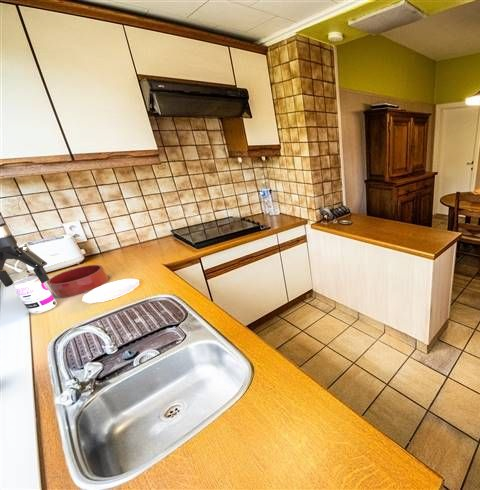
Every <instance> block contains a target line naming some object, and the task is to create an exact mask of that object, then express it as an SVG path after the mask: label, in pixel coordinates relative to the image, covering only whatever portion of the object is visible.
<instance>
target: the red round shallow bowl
mask: <svg viewBox="0 0 480 490" xmlns="http://www.w3.org/2000/svg"><path fill="white" fill-rule="evenodd" d="M49 279H50V280H48V281H46V284H47V287H49V290H51V293H53V294H52V295H54V296H55V297H56V298H66V297H72V296H73V297H74V296H76V295H81V294H84V293H88V292H90V291H91V290H93V289H95V288H97V287H100V286H102V285H104V284H106V283H107V282H108V280H109V277H108V275H107V273H106V271H105V269H104V267H103V266H102V265H101V264H89V265H84V266H79V267H76V268H75V267H74V268H72V269H68V270H65V271H62V272H60V273H57V274H55V275H54V276H52V277H51V278H49Z"/></svg>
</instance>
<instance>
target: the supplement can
mask: <svg viewBox="0 0 480 490" xmlns="http://www.w3.org/2000/svg"><path fill="white" fill-rule="evenodd" d="M13 282H14V283H13V284H12V289H13V290H14V291H13V292H15V293H16V295H17V297H18V298H19V299H20V301H21V302H22V303H23V305H24V306H25V308H26V310H27V311H28V313H29V314H42V313H44V312H47V311H49V310H53V308H55V307H56V305H57V303H58V302H57V300H56V299H55V297H54V296H53V294H52V292H51V291H50V288H48V285H46V282H44V283H41V281H40V280H39V278H38V277H37V275H29V276H26V277H22V278H19V279H18V280H15V281H13Z"/></svg>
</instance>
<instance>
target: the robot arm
mask: <svg viewBox="0 0 480 490" xmlns="http://www.w3.org/2000/svg"><path fill="white" fill-rule="evenodd" d="M17 244H18V241H17V239H16V238H15V236H14V235H13V234H12V232H11V231H10V229H9V227H8V225H6V223H5V221H4V219H3V218H2V216H1V215H0V282H1V283H2V284H3V286H4V287H5V288H8V287H10V286H13V283H14V282H15V281H14V280H13V279H12V278H11V276H10V275H9V273H8V272H7V270H5V269H4V266H5V263H6V261H7V260H15V261H19V262H22V263H23V264H25V265H28V266H29V267H31V268H33V272H34V274H35V276H37V277H38V278H39V280H40V281H41V283H47V281H48V280H50V278H49V276H48V274H47V271H46V269H45V268H44V266H47V265H48V262H46V261H45V259H43V258H41V257H40V256H39V255H37V253H35V252H34V251H32V250H31V249H30V248H29V247H28V246H27V245H23V246H20V247H19V246H18V245H17Z"/></svg>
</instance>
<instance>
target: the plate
mask: <svg viewBox="0 0 480 490" xmlns="http://www.w3.org/2000/svg"><path fill="white" fill-rule="evenodd" d="M139 285H140V280H139V279H136V278H123V279H118V280H114V281H111V282H110V281H109V282H108V283H107V282H106V283H104V284H102V285H101V286H99V287H97V288H95V289H92V290H90V291H88V292H86V293H85V294H84V295H83V296H82V299H81V302H82V303H86V304H96V303H104V302H109V301H112V300H115V299H118V298H121V297H124V296H125V295H127V294H128V293H130V292H132V291H134V290H135V289H136V288H137V287H138V286H139Z"/></svg>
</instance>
